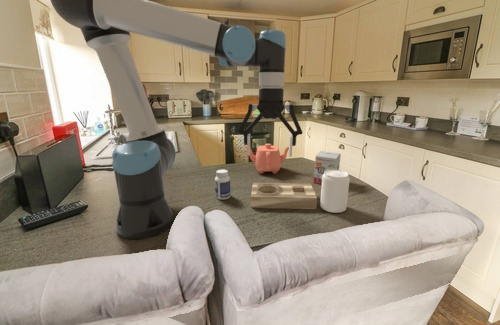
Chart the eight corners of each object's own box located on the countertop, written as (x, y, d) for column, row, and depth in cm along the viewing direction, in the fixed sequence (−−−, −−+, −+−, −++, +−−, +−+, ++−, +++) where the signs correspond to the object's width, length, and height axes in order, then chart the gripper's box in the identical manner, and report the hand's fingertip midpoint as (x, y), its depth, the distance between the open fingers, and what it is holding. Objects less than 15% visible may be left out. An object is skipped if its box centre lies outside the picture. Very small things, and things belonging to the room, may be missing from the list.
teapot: (291, 170, 118) (292, 144, 114) (265, 179, 108) (265, 150, 105) (269, 163, 129) (269, 139, 126) (243, 170, 119) (243, 144, 116)
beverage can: (326, 200, 88) (328, 167, 84) (349, 207, 83) (353, 172, 79) (315, 209, 82) (318, 174, 78) (340, 217, 77) (344, 179, 73)
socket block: (316, 209, 82) (317, 197, 80) (250, 207, 83) (250, 196, 82) (310, 193, 93) (310, 183, 92) (252, 192, 94) (252, 182, 93)
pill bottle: (233, 195, 93) (232, 169, 90) (226, 201, 88) (225, 174, 85) (220, 192, 95) (219, 167, 92) (212, 198, 90) (211, 172, 87)
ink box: (312, 183, 103) (314, 155, 100) (317, 176, 111) (319, 150, 107) (334, 186, 99) (337, 157, 96) (338, 179, 107) (341, 152, 103)
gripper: (310, 87, 80) (306, 152, 86) (232, 87, 82) (233, 151, 88) (315, 88, 73) (309, 159, 79) (228, 87, 74) (230, 157, 81)
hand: (269, 155), depth 84 cm, fingers open, 13 cm apart
